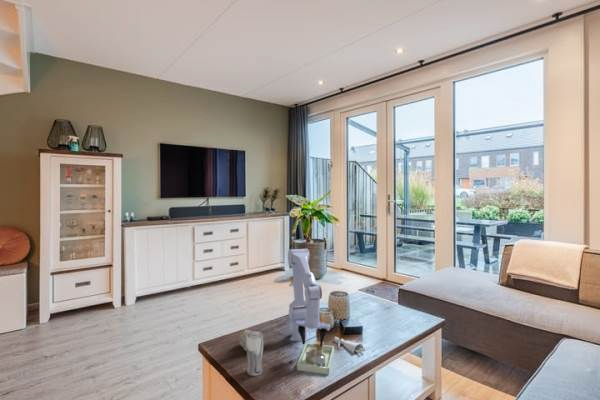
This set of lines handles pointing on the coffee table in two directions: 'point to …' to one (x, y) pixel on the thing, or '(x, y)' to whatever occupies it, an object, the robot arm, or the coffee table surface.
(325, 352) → the tray
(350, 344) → the woman figurine
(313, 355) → the part birch
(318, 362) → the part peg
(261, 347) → the beer glass
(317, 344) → the part oak
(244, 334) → the fossil replica
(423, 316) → the coffee table surface
